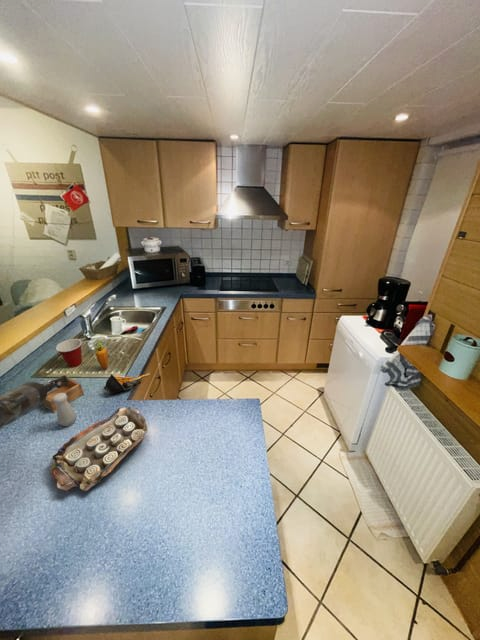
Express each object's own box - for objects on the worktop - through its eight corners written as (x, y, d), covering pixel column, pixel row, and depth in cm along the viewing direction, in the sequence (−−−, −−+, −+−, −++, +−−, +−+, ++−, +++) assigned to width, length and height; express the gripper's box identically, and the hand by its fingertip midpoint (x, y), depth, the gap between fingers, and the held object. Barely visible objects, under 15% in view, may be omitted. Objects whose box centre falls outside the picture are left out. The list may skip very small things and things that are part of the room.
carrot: (108, 372, 122) (102, 345, 116) (98, 372, 122) (90, 346, 116) (112, 366, 127) (106, 340, 120) (102, 366, 126) (95, 340, 120)
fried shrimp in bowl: (97, 381, 109) (133, 354, 118) (114, 399, 112) (147, 372, 121) (101, 385, 101) (138, 356, 110) (118, 404, 105) (153, 375, 114)
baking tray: (81, 512, 67) (76, 500, 65) (38, 474, 76) (32, 462, 74) (162, 432, 91) (160, 421, 89) (122, 409, 100) (119, 399, 98)
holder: (54, 412, 99) (49, 401, 96) (38, 401, 104) (33, 391, 101) (84, 394, 108) (80, 384, 106) (67, 385, 113) (64, 375, 111)
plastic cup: (58, 372, 122) (51, 351, 117) (67, 359, 131) (61, 339, 126) (83, 369, 124) (76, 348, 119) (90, 357, 134) (84, 337, 128)
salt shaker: (80, 415, 97) (71, 389, 92) (74, 427, 92) (64, 400, 87) (63, 417, 96) (53, 391, 91) (56, 429, 91) (45, 402, 86)
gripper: (46, 376, 69) (68, 365, 85) (-14, 398, 65) (21, 383, 81) (57, 400, 70) (77, 385, 86) (-1, 424, 66) (31, 403, 82)
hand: (50, 384), depth 83 cm, fingers open, 8 cm apart
